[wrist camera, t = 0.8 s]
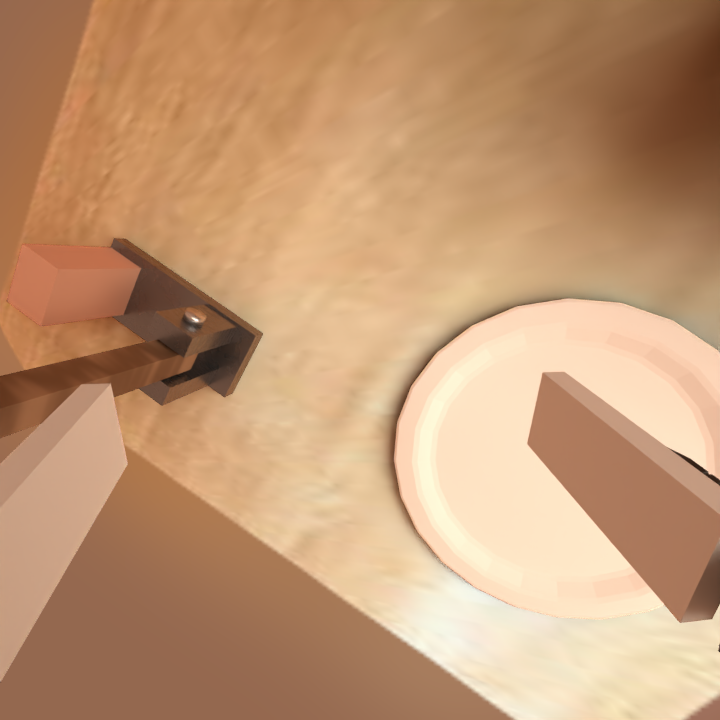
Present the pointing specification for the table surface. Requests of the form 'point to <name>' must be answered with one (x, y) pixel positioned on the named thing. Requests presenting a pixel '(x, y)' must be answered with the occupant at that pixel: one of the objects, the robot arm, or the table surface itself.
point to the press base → (185, 328)
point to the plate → (524, 468)
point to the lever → (83, 380)
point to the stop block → (71, 283)
